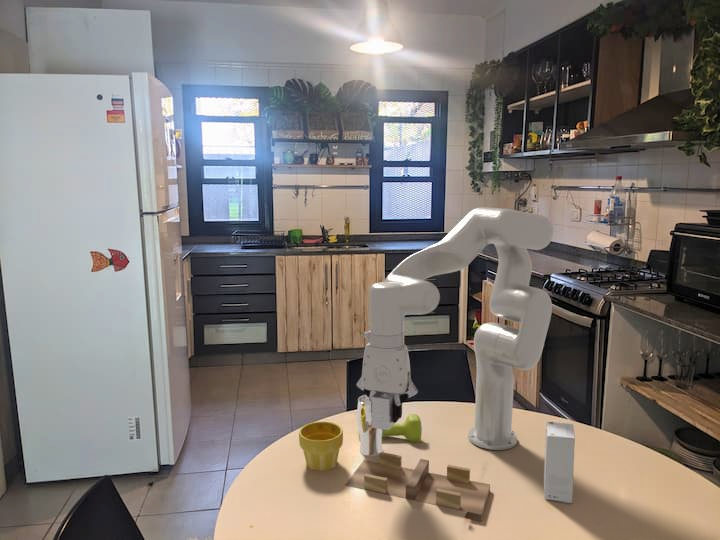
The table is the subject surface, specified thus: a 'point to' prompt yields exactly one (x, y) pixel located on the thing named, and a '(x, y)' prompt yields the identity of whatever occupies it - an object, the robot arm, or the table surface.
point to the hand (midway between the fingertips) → (386, 417)
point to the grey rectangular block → (382, 410)
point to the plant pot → (321, 444)
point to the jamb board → (423, 484)
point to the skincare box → (559, 462)
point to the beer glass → (368, 429)
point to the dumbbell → (407, 429)
